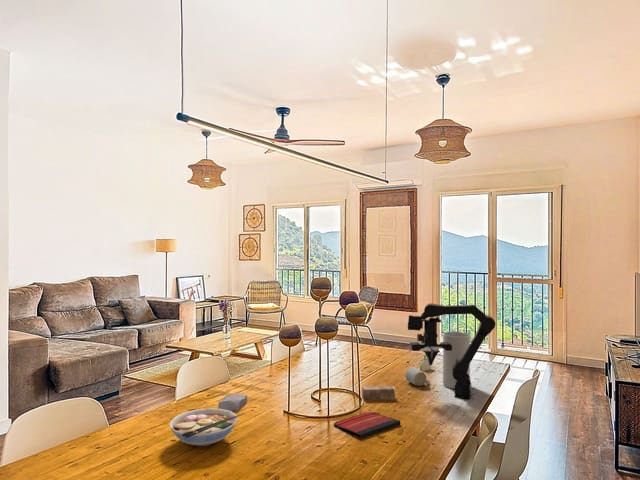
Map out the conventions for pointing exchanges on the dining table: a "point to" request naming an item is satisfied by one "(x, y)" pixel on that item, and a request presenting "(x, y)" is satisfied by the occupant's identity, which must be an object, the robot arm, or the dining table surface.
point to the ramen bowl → (203, 426)
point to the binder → (366, 424)
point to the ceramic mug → (416, 376)
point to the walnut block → (378, 392)
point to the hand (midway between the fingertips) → (430, 365)
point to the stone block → (232, 402)
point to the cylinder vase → (453, 355)
